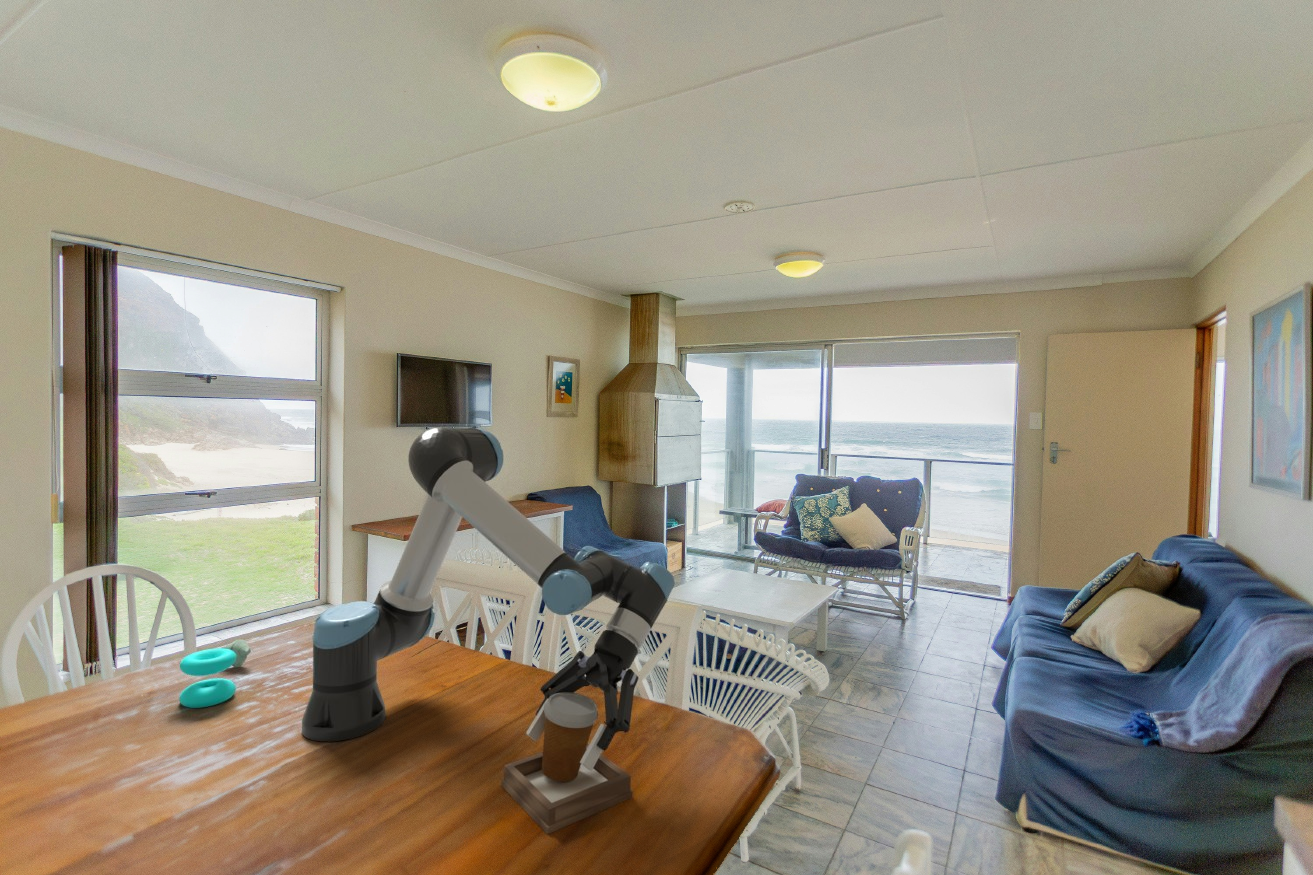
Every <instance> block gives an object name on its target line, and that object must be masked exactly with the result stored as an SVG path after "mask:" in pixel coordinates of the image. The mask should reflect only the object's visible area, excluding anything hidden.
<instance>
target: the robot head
mask: <svg viewBox="0 0 1313 875" xmlns="http://www.w3.org/2000/svg"><path fill="white" fill-rule="evenodd" d="M221 648H224V649H230V650H232V651H234V652H235V654H236V660H235V662H234V664H233V665H232V666H231V667H234V668H236V669H237V668H240V667H242V665H244V663H245V662H246V660H247V658H248V655H250V653H251V652H252V651H251V648H250V647H249V643H248V642H247V641H246V640H245V639H242V638H241V639H240V638H239V639H236V640H234V641H233V642H231V643H229V644H227V645H224V646H222V647H221Z"/></svg>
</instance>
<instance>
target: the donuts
mask: <svg viewBox="0 0 1313 875" xmlns="http://www.w3.org/2000/svg"><path fill="white" fill-rule="evenodd" d="M235 660H236V654H235V652H234V651H232V650H230V649H224V648H222V647H220V648H208V649H203V650H198V651H195V652H193V653H191V654H188V655H187V656H185V657H184V658H182V660H181V662H180V663H179V669H180V671H181V672H182V673H183V674H185V675H186V676H188V675H189V676H192V677H193V676H194V677H204V676H209V675H215V674H218V673H221V672H223V671H225V670H228V669H229V668H230V667H233V666H232V665H233V664H234V662H235ZM235 693H236V684H235V683H234V682H233V681H232V680H229V679H226V678H222V677H220V678H218V677H217V678H209V679H204V680H200V681H197V682H194V683H192V684H190V685H188V686H187V687H186V688H184V689H182V691H181V692H180V695H179V699H178V701H179V702H180V704H181V705H182V706H183V707H186V708H192V709H199V708H200V709H201V708H206V707H211V706H215V705H218V704H221V703H224V702H226V701H228V700H229V699H231V698H232V697H233V696H234V694H235Z"/></svg>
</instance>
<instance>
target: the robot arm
mask: <svg viewBox="0 0 1313 875" xmlns="http://www.w3.org/2000/svg"><path fill="white" fill-rule="evenodd" d="M407 462H408V468H409V470H410V473H411V475H412V477H413V479H414V480H415V482H416V483H417V484H418V485H419V486H420V488H421V489H422V490H423V491H424V492H425V493H426V494H427V495H426V498H425V500H424V503H423V504H422V507H421V510H420V512H419V515H417V516H418V517H417V519H416V521H415V524H414V526H413V528H412V531H411V534H410V535H409V538H408V540H407V543H406V546H405V548H404V550H403V552H402V555H401V557H400V559H399V562H398V563H397V567H396V569H395V571H394V574H393V576H392V578H391V580H388V581H386V582H384V583H382V585H381V586H380V589H379V591H378V593H377V596H376V598H375V600H374V602H371V601H366V600H363V601H362V600H361V601H360V600H359V601H357V600H356V601H351V602H350V601H349V602H348V603H340V604H337V605H333V606H331V607H329V608H328V609H326V610H324V611H322V612H321V613H320V614H318V616H317V618H316V619H315V622H314V629H313V630H314V631H313V635H312V692H311V694H310V697H309V700H308V702H307V704H306V705H307V706H306V708H305V711H304V713H303V716H302V721H301V733H302V734H301V735H303V736H304V737H305V738H306V739H308V740H311V741H317V742H324V743H325V742H329V743H330V742H340V741H345V740H351V739H355V738H358V737H361V736H363V735H366V734H369V733H370V732H372V731H375V730H376V729H377V728H379V727H380V726H382V724H383V723H384V721H385V719H386V705H385V701H384V698H383V696H382V693H381V690H380V687H379V684H378V681H377V680H378V678H377V674H378V672H377V671H378V670H377V669H378V661H380V660H382V659H384V658H386V657H390V656H391V655H393V654H396V653H398V652H400V651H403V650H405V649H407V648H410V647H413V646H414V645H416V644H418V643H419V642H420V641H422V640H423V639H424V638H425V637H426V636H427V635H428V634H429V633H430V632H431V630H432V628H433V626H434V622H435V618H436V616H435V612H434V611H433V610H434V609H435V608H434V604H433V603H434V598H433V597H434V596H432V594H431V591H432V589H433V586H434V584H435V581H436V579H437V577H438V575H439V572H440V569H441V567H442V565H443V563H444V560H445V558H446V556H447V554H448V551H449V549H450V547H451V545H452V542H453V540H454V537H455V535H456V532H457V530H458V528H459V526H460V524H461V521H462V519H464V520H465V521H466V522H467V523H468V524H469V525H470V526H472V527H473V528H474V529H475V530H476V531H477V532H478V533H480V534H481V535H482V536H483V537H484V538H485V539H486V540H487V541H489V542H490V543H491V544H492V545H493V546H494V547H495V548H496V549H497V550H498V551H500V552H501V553H502V554H503V555H504V556H505V557H506V558H508V559H509V560H510V561H511V562H512V564H514V565H516V566H517V567H518V568H519V569H520V570H521V571H522V572H523V573H524V574H526V576H528V577H529V578H531V580H533V582H534V583H536V584H537V585H538V586H539V587H540V588H541V597H542V599H543V603H544V605H545V606H546V608H547V609H548V610H549V611H550V612H551V613H553V614H556V615H559V616H568V615H571V614H574V613H576V612H577V613H578V612H579V611H582V610H583V609H584V608H585V607H587V606H588V605H589V604H591V603H592V602H594V601H596V600H598V599H600V598H601V597H605V598H607V599H609V600H611V601H612V602H614V603H617V604H618V606H617V607H616V610H615V611H614V612H613V614H612V615H611V617H610V619H609V620H608V622H607V624H606V625H605V628H606V629H605V630H603V631H602V633H601V634H600V636H599V637H598V639H597V640H596V641H595V643H594V650H593V653H592V654H591V655H590V656H588V655H586V654H585V653H584V652H583V651H582V650H579V651H578V652H576V654H575V655H574V657H573V658H572V660H570V661H569V662H568V663H567V664H566V665H565V666H563V667H562V669H560V670H558V672H557V673H556V674H554V675H553V676H552V677H551V678H549V679H548V680H547V681H546V682H545V683H544V684H543V685H542V686H541V687H540V692H541V693H542V694H543V696H544V698H543V700H542V702H541V704H540V705H539V707H538V709H537V710H536V712H535V717H534V719H533V721H532V723H531V724H530V725H529V728H528V729H527V730H526V732H525V735H527V736H528V737H529V738H531V740H533V741H535V742H536V743H537V742H538V741H539V740H540V738H541V736H542V734H544V728H545V713H544V705H545V703H547V701H548V698H549V697H550V696H551V695H553V694H556V693H561V692H571V693H576V692H578V691H579V690H581V689H582V688H584V687H589V686H591V687H593V688H599V689H600V690H601V691H603V696H604V699H603V700H604V708H605V709H604V711H605V721H603V723H604V724H603V723H600V725H599V726H598V729H597V730H596V732H595V734H594V735H593V737H592V739H591V741H590V743H588V744H589V746H588V748H587V750H586V752H585V754H584V755H583V757H582V759H581V761H580V763H581V764H582V765H584V766H585V767H586V768H587V769H588V770H590V771H592V769H593V767H594V766H595V764H596V762H597V760H598V758H599V756H600V754H602V752H603V751H604V752H606V751H607V749H608V748H609V746H610V744H611V742H612V741H613V738H614V737H615V735H616V734H617V733H618V732H623V733H628V732H629V731H630V729H631V727H630V726H631V718H632V712H633V704H634V694H635V687H636V686H637V683H638V681H639V676H638V675H637V673H636V672H635V671H633V669H632V668H631V666H632V664H633V662H634V661H635V659H636V658H637V656H638V654H639V650H638V649H640V648H642V646H643V644H644V643H645V641H646V639H647V637H648V636H649V633H650V632H651V630H652V628H653V627H654V625H655V622H656V621H657V619H658V618H659V616H660V614H661V612H662V610H663V609H664V607H665V605H666V603H668V599H669V597H670V595H671V593H672V591H673V589H674V587H675V584H676V582H675V577H674V576H673V574H672V573H671V572H670V571H669V569H667V568H666V567H664V566H663V565H662V564H660V563H657V562H655V563H654V562H652V561H646V562H644V563H642V565H641V566H640V567H639V568H638V567H636V566H632V565H630V563H629V564H628V563H627V562H624V561H622V560H621V559H619V558H616V557H615V556H613V555H611V554H609V553H607V552H606V551H604V550H603V549H599V548H596V547H594V546H591V545H585V546H583V547H582V548H581V549H580V550H579V551H578V552H577V553H576V555H575V557H574V558H573V557H572V556H571V555H570V554H568V553H567V552H566V551H565V550H564V549H563V548H562V547H560V546H559V545H558V544H557V543H556V542H555V541H553V539H551V538H550V537H549V536H548V535H547V534H545V533H544V532H543V531H542V530H541V529H540V528H539V527H538V526H536V524H534V523H533V522H532V521H531V520H529V519H528V518H527V517H526V516H525V515H524V514H522V513H521V512H520V511H519V510H518V509H517V508H515V507H514V506H513V505H512V504H511V503H510V502H508V500H506V499H505V498H504V497H503V496H502V495H501V494H499V493H498V492H497V491H496V490H495V489H494V488H492V486H490V485H489V483H488V482H489V481H491V480H493V479H494V478H496V477H497V476H498V475H499V473H500V472H501V470H502V467H503V465H504V451H503V449H502V446H501V442H500V441H499V439H498V438H497V437H496V436H495V435H494V434H493V433H491V432H490V431H488V430H486V429H482V428H476V427H471V426H470V427H469V426H468V427H446V426H445V427H444V426H443V427H442V426H441V427H433V428H430V429H427V430H425V431H423V432H421V433H420V434H419V435H418V436H417V437H416V438H415V439H414V441H413V442H412V444H411V446H410V447H409V451H408V461H407ZM619 682H621V685H620V693H619V692H618V691H619V690H618V683H619ZM618 693H619V698H618ZM618 699H619V701H618Z"/></svg>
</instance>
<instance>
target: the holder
mask: <svg viewBox="0 0 1313 875" xmlns="http://www.w3.org/2000/svg"><path fill="white" fill-rule="evenodd" d="M589 744H590V743H587V746H586V749H585V752H586V750H587V748H588V746H589ZM584 754H585V753H584ZM542 760H543V751H542V752H539V753H537V754H533V755H531V756H528V757H527V756H526V757H524V758H521V759H519V760H516V761H513V762H509V763H507V764H503V765H504V766H503V778H502V779H501V785H500V786H501V787H502V788H503V789H504V790H505V791H506V792H507V793H508V795H509V796H510V797H511V798H512V799H513V800H514V801H515V802H516V803H517V805H519V806H520V807H521V808H522V809H523V810H524V812H526V814H528V815H529V817H530V818H531V819H532V820H534V822H535V823H536V824H537V825H538V826H539V827H540V828H541V830H543V831H544V833H545V834H546V835H549V834H552V833H554V832H556V831H558V830H560V829H562V828H565V827H568V826H570V825H572V824H574V823H577V822H580V821H581V820H583V819H586V818H588V817H590V816H593V815H595V814H597V813H600V812H602V811H604V810H607V809H608V808H611V807H613V806H615V805H618V804H620V803H622V802H624V801H627V800H629V799H632V798H633V796H634V793H633V792H634V791H633V789H631V777H632V776H631V775H630V774H628V772H626V771H625V770H624V769H622V768H621V767H620V766H618V765H617V764H616V763H614V762H613V761H611V760H610V759H609V758H608V757H606V756H605V755H604V754H602V753H601V754H600V756H599V758H598V760H597V762H596V764H595V766H594V767H593V769H592V771H590V770H588V769H587V768H586V767H585V766H584V765H582V764H581V765H580V769H579V772H578V775H577V777H576V778H575V779H573V780H570V781H565V782H561V781H555V780H552V779H549V778H548V777H546V776H545V775H544V774H543V772H542Z"/></svg>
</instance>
